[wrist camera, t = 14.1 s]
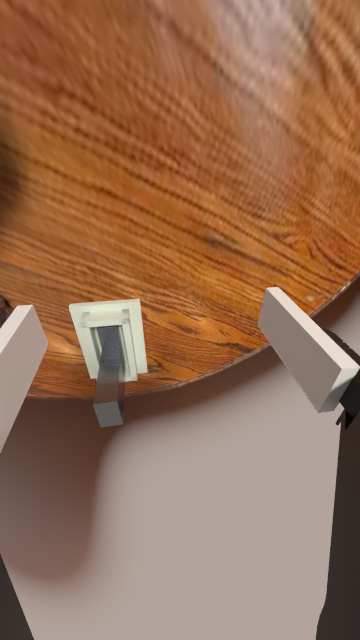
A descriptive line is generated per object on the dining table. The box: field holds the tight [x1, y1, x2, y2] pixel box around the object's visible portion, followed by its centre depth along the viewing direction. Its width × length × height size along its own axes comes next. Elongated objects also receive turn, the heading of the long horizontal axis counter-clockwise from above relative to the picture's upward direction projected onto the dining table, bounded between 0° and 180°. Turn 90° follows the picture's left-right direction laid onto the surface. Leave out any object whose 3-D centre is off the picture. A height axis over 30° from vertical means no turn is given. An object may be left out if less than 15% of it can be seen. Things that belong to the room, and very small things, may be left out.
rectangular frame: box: [69, 299, 148, 382], centre depth 47 cm, size 12×18×4 cm, turn 0°
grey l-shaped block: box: [93, 325, 126, 427], centre depth 42 cm, size 4×11×14 cm, turn 0°
